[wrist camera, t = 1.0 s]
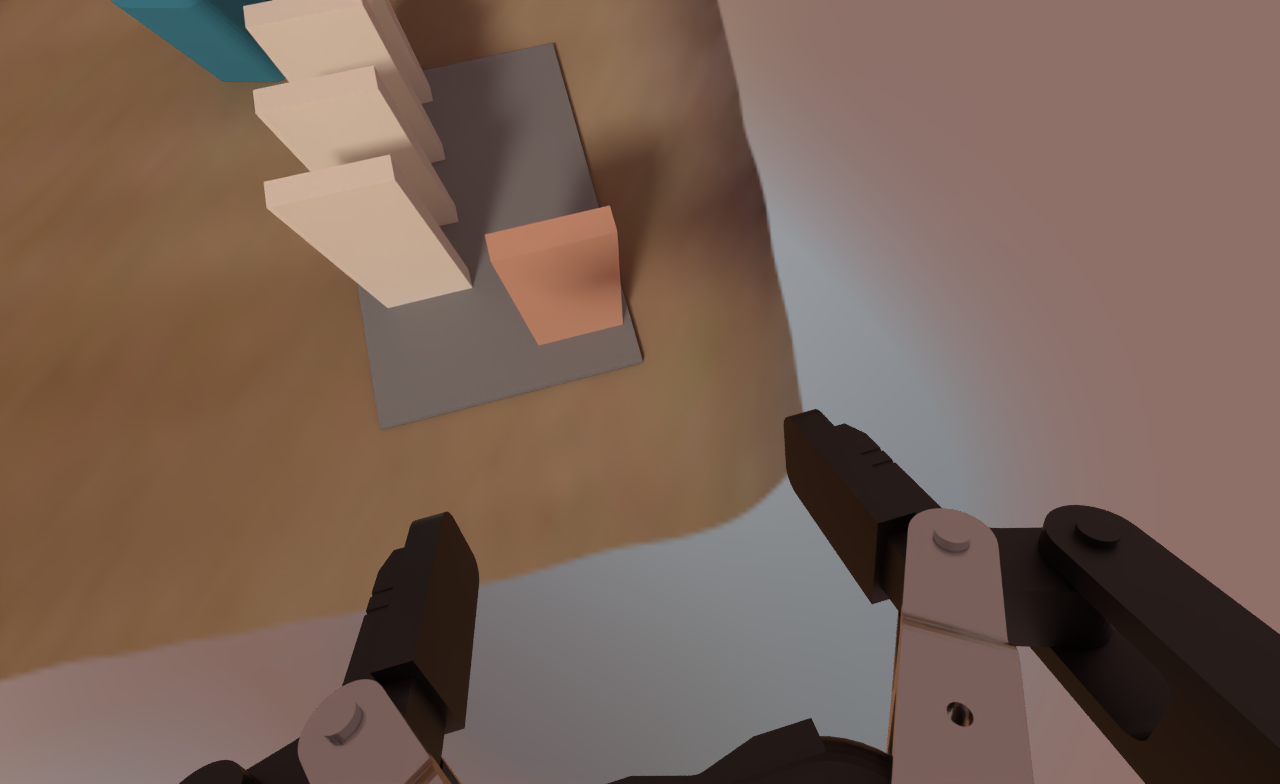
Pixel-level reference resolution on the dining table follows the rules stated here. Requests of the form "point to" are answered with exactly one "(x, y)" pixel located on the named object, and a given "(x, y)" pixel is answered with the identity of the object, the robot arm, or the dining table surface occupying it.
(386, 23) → the domino
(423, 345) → the mat
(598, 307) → the terracotta tile
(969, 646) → the robot arm
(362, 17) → the domino
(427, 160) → the domino
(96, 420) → the dining table surface
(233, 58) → the block
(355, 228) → the domino
